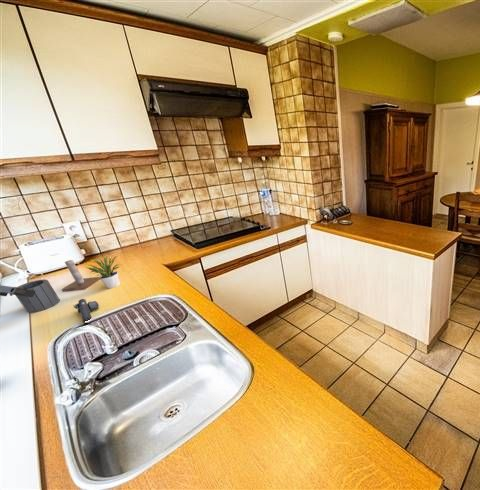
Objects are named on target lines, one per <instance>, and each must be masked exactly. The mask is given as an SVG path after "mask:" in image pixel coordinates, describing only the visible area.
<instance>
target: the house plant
mask: <svg viewBox="0 0 480 490" xmlns="http://www.w3.org/2000/svg"><path fill="white" fill-rule="evenodd" d="M121 255H122V253H120V254H117V255H115V256H114V257H113V258H112V256H110V257H109V258H108V254H106V255H105V256H104V258H103V261H102V259H101V258H98V260H96V259H95V260H94V259H91V261H92V262H93V263H96V264H97V265H98V266H100V267H98V266H96V265H93V264H85V263H84V266H86V267H85V268H86V269H88V270H89V271H90V272H89V274H91V273H92V274H97V275H96V276H95V277H99V279H100V280H99V281H101V282H102V284H103V285H104V286H105V287H106V288H107V289H114V288H117V287H119V286H120V285H121V280H120V275H119V272H118V271H115V270H117V269H119V268H120V264H119V263H118V264H115V265H114V266H113V263H114V262H115V260H116V258H117V257H119V256H121ZM112 266H113V267H112Z"/></svg>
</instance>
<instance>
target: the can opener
mask: <svg viewBox="0 0 480 490" xmlns="http://www.w3.org/2000/svg"><path fill="white" fill-rule="evenodd" d="M72 306H73V309H75V310H76V309H77V313H78V314H80V315H81V319H82V322H83V323H84V322H85V321H88V320H90V319H91V318H92V315H91V312H93V311H96V310H98V309H99V303H98V302H97V301H96V300H92V301H91V300H90V301H88V302H87V299H85V298H80V299H79V300H78V302H77V303H76V304H74V305H72Z"/></svg>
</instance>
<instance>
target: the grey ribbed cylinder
mask: <svg viewBox="0 0 480 490" xmlns="http://www.w3.org/2000/svg"><path fill="white" fill-rule="evenodd" d="M16 287H17V288H21V289H27V290H34V291H35V293H34V295H33V297H27V296H19V295H15V297H16V298H17V300H18V301H19V303H20V304H21V306H22V307H23V308H24V310H25V311H26V312H27V313H29V314H33V313H38V312H42V311H45V310H48V309H51V308H53V307H55V306H56V305H58V304H59V303H60V302H61V299H60V297H59V295H58V294H57V292H56V291H55V289H54V287H53V286H52V284H51V282H50V281H49V280H48V279H45V278H44V279H36V280H33V281H28V282H26V283H22V284H20V285H18V286H16Z"/></svg>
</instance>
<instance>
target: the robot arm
mask: <svg viewBox="0 0 480 490" xmlns="http://www.w3.org/2000/svg"><path fill="white" fill-rule="evenodd" d="M17 287H18V286H8V285H2V284H1V285H0V297H7V296H8V295H9V296H11V297H12V296H16V295H19V296H27V297H33V295H34V293H35V291H34V290H27V289H21V288H17Z"/></svg>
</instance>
